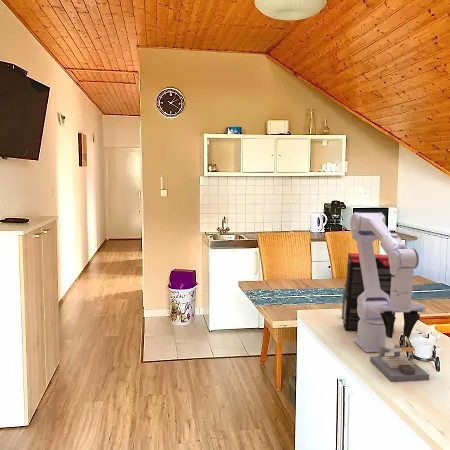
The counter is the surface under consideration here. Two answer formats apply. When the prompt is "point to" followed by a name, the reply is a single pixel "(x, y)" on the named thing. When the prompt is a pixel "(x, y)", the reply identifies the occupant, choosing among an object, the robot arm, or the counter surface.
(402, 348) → the orange-ended grey bar
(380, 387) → the counter surface
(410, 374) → the heatsink base
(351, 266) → the graphics card box
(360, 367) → the counter surface
